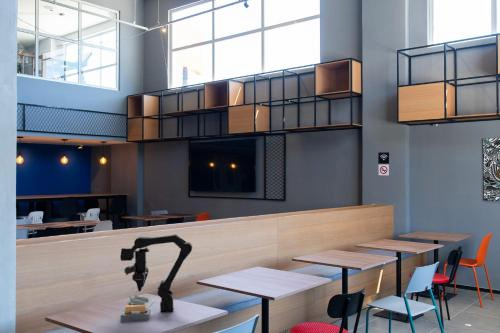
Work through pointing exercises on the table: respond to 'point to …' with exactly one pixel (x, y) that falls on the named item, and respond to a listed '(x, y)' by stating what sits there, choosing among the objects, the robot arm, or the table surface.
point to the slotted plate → (135, 316)
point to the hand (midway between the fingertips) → (140, 289)
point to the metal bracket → (140, 301)
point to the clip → (135, 308)
